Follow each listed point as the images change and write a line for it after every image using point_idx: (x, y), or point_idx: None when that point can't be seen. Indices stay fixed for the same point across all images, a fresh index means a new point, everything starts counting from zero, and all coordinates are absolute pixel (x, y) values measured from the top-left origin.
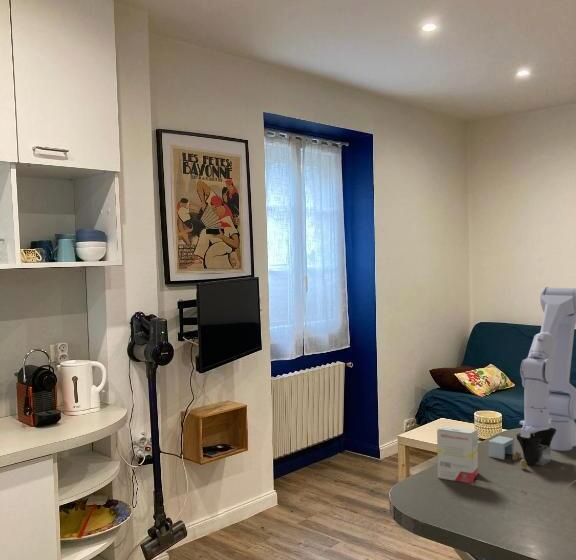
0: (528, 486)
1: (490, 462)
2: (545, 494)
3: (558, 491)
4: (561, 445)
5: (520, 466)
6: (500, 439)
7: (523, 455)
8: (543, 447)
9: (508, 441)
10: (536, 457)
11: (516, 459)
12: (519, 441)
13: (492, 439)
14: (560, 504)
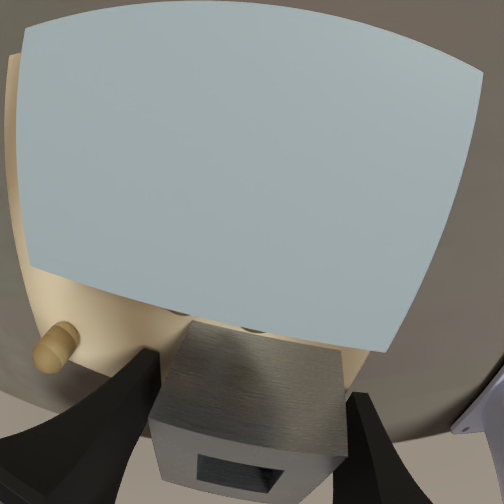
0: (13, 330)
1: None
2: (14, 365)
3: (53, 396)
4: (491, 442)
5: (50, 328)
6: (210, 151)
7: (173, 362)
8: (232, 491)
9: (173, 309)
10: (142, 425)
11: None
12: (17, 437)
13: (122, 20)
14: (6, 383)
